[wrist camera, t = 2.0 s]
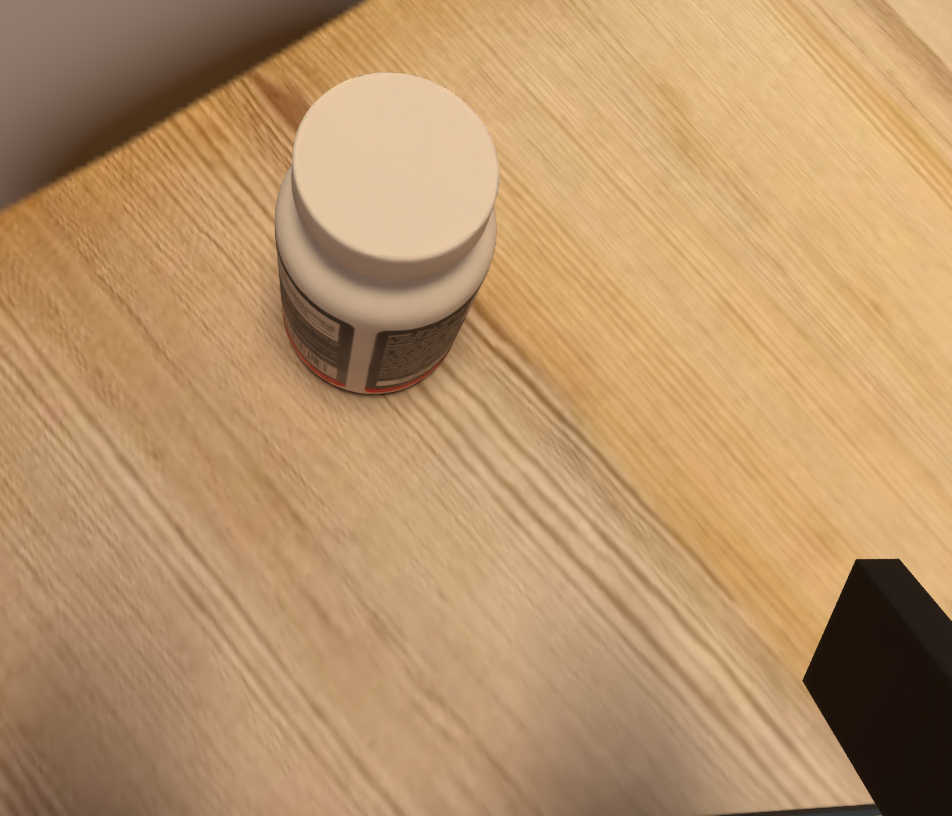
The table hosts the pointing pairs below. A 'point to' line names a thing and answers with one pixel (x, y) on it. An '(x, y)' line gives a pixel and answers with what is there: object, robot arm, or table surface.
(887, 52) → the table surface
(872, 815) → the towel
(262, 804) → the table surface
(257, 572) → the table surface
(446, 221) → the pill bottle
